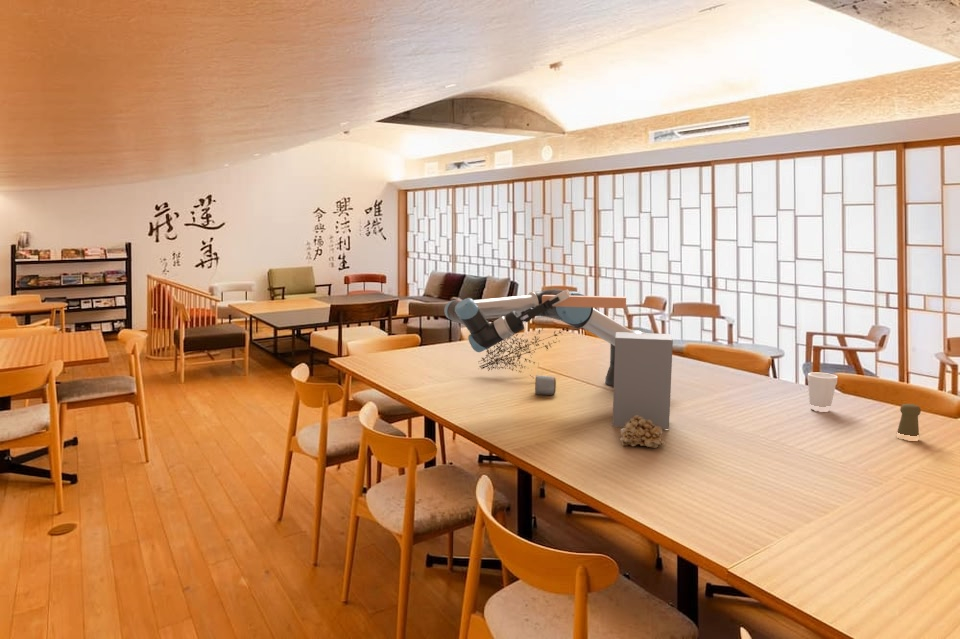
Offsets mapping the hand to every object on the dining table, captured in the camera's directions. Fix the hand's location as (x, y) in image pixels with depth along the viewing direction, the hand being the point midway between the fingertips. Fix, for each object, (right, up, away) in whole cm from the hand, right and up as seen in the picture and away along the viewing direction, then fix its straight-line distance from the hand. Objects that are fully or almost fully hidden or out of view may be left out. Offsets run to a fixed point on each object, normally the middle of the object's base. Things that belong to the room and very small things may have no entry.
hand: (568, 293), depth 208 cm
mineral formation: (+20, -47, -20) cm, 55 cm away
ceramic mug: (-4, -39, +38) cm, 55 cm away
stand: (+24, -44, -1) cm, 50 cm away
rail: (+5, -5, -1) cm, 7 cm away
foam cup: (+94, -42, +14) cm, 104 cm away
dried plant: (-10, -35, +66) cm, 76 cm away
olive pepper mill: (+104, -47, -16) cm, 115 cm away
